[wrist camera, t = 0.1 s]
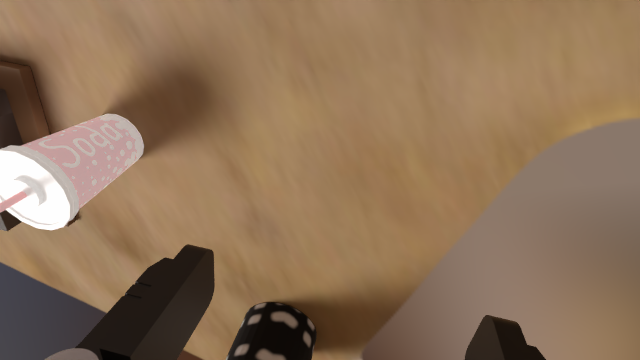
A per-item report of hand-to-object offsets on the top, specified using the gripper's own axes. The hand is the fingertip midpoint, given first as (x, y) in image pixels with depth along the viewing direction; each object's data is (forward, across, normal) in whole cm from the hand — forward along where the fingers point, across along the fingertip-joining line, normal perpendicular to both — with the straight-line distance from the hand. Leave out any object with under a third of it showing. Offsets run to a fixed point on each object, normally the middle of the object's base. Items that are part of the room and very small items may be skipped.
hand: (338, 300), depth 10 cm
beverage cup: (+18, +21, +6) cm, 28 cm away
